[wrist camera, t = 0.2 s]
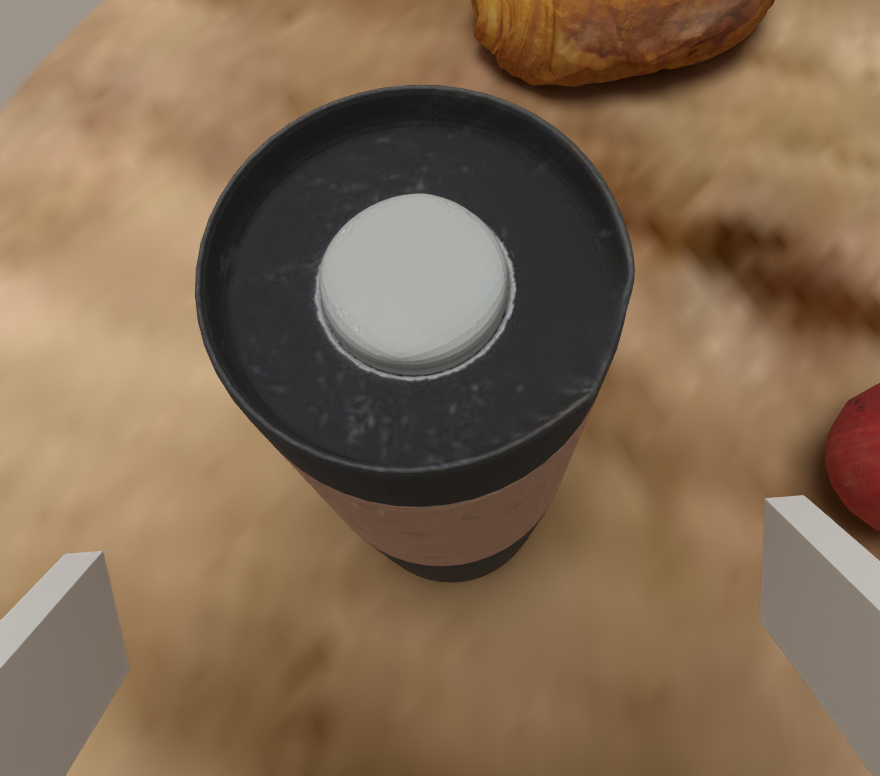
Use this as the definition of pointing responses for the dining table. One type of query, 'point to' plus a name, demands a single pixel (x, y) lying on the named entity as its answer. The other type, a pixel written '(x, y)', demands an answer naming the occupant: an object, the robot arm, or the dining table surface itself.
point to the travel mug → (419, 314)
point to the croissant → (609, 35)
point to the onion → (857, 456)
